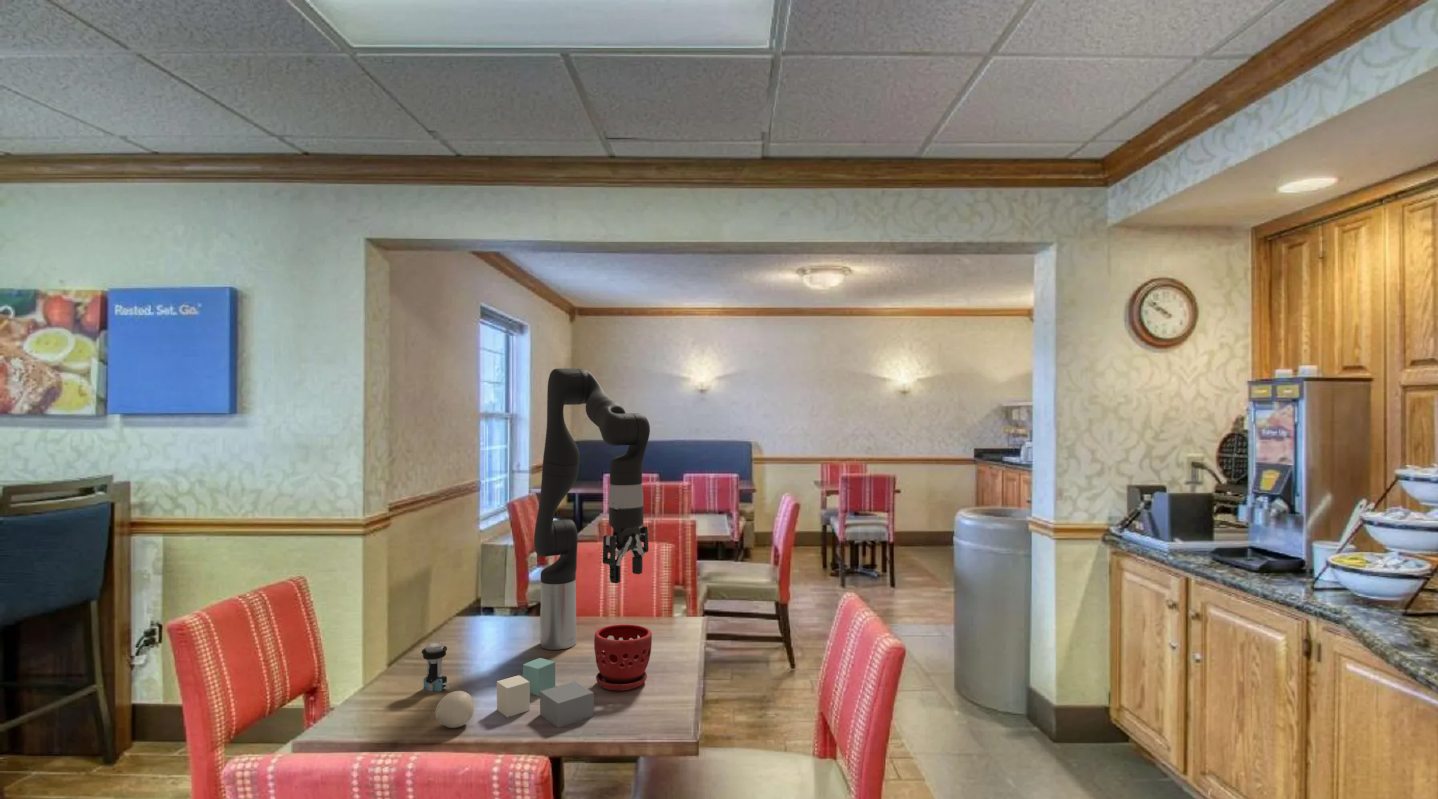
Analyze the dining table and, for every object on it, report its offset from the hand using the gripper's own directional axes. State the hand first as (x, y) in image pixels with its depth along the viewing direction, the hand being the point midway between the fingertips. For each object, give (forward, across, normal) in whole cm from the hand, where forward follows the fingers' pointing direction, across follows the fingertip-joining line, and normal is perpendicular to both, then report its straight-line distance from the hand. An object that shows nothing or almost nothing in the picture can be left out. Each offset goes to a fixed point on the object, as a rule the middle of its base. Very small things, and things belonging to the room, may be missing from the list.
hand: (626, 578), depth 153 cm
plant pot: (+26, -6, -5) cm, 27 cm away
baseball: (+26, +26, -23) cm, 44 cm away
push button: (+26, +15, -41) cm, 51 cm away
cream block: (+26, +16, -18) cm, 35 cm away
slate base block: (+26, +13, -6) cm, 30 cm away
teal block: (+26, +5, -20) cm, 34 cm away
